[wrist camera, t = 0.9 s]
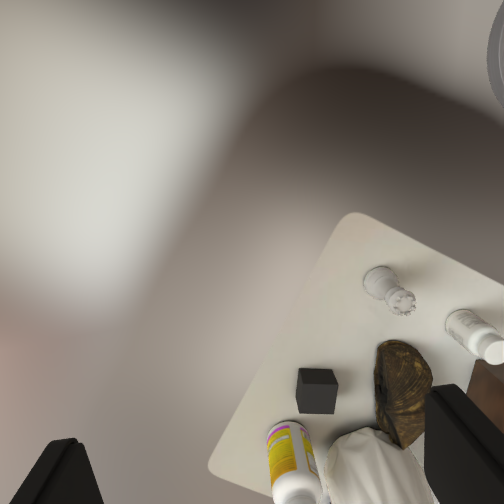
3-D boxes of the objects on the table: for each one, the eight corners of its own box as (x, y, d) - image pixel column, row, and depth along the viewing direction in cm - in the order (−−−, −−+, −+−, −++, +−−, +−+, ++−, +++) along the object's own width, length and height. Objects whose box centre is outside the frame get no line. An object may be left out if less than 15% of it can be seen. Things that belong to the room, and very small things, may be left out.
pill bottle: (464, 340, 50) (504, 372, 42) (438, 330, 49) (474, 362, 42) (480, 314, 49) (523, 343, 41) (454, 304, 48) (493, 332, 41)
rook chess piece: (375, 259, 46) (402, 281, 38) (401, 275, 47) (433, 300, 39) (355, 286, 47) (378, 312, 39) (381, 301, 48) (408, 330, 40)
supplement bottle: (260, 447, 54) (266, 534, 42) (274, 414, 52) (285, 495, 40) (299, 457, 55) (317, 545, 43) (314, 425, 53) (337, 507, 41)
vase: (422, 431, 54) (489, 534, 39) (382, 495, 58) (430, 612, 43) (342, 408, 52) (381, 506, 38) (306, 475, 56) (329, 589, 41)
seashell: (361, 346, 49) (392, 373, 42) (414, 329, 51) (452, 352, 44) (368, 438, 53) (398, 475, 47) (417, 419, 55) (452, 453, 49)
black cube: (298, 368, 50) (302, 383, 47) (332, 369, 50) (338, 384, 47) (295, 396, 52) (299, 413, 48) (327, 397, 52) (333, 414, 48)
